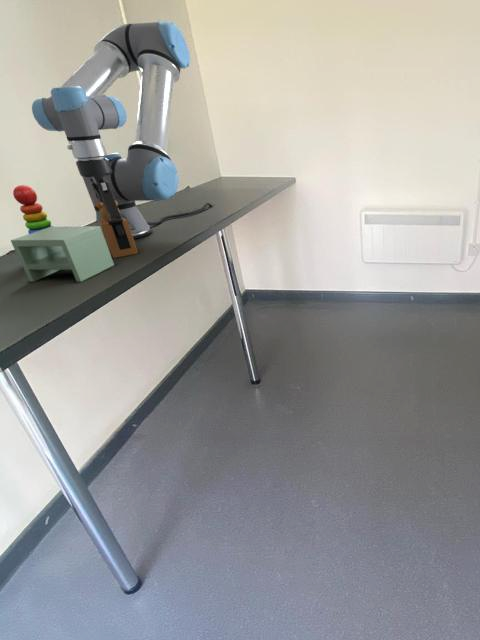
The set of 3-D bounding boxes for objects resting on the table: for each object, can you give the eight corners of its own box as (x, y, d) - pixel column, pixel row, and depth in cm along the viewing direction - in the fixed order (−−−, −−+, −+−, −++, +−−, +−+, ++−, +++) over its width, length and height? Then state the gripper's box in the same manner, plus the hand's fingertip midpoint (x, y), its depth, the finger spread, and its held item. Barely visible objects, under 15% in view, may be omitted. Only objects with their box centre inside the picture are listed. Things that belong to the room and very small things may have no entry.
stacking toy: (63, 250, 142) (34, 181, 132) (73, 254, 138) (44, 183, 128) (33, 257, 137) (0, 186, 127) (43, 261, 133) (10, 188, 123)
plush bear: (110, 254, 137) (91, 201, 129) (134, 249, 140) (117, 197, 132) (113, 258, 133) (93, 203, 125) (138, 253, 136) (120, 200, 128)
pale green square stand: (67, 265, 129) (50, 226, 124) (114, 265, 127) (100, 226, 122) (29, 281, 118) (10, 240, 113) (81, 281, 116) (63, 239, 111)
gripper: (70, 156, 130) (100, 238, 142) (80, 164, 113) (114, 256, 125) (100, 153, 133) (128, 233, 145) (115, 160, 117) (144, 250, 128)
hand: (121, 244), depth 135 cm, fingers open, 12 cm apart
